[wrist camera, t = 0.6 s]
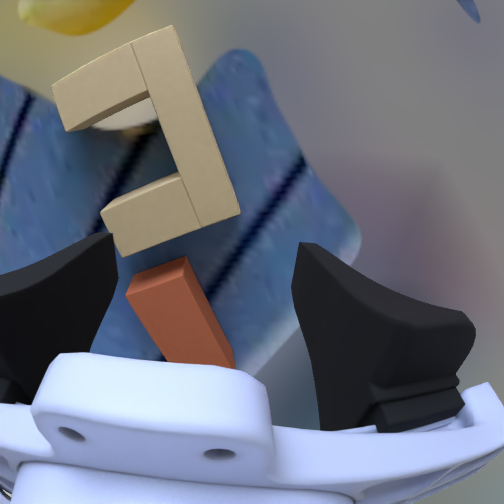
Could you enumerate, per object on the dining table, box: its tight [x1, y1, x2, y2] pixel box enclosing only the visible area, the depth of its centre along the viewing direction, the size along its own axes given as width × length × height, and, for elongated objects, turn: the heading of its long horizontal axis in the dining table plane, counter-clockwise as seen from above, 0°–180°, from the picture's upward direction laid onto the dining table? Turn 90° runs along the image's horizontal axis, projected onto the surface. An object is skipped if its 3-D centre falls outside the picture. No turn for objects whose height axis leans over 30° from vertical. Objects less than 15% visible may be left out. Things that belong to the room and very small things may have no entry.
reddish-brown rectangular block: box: [125, 256, 235, 369], centre depth 23 cm, size 10×4×3 cm, turn 18°
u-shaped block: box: [51, 25, 241, 258], centre depth 17 cm, size 8×12×3 cm, turn 18°
